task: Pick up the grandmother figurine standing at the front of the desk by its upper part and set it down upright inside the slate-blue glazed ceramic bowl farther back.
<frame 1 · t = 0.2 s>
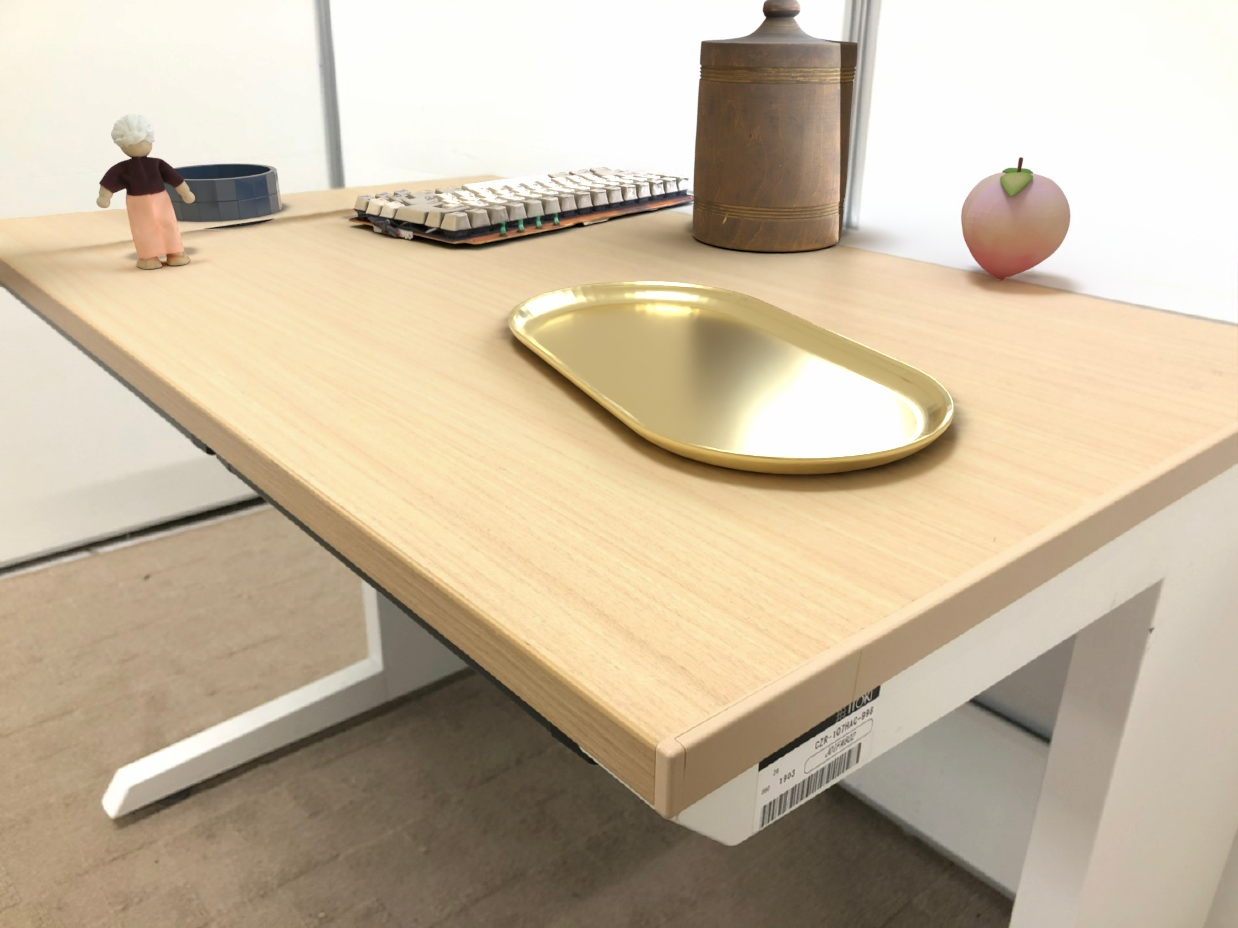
mechanical keyboard: (534, 215, 111), on the table
grandmother figurine: (158, 267, 88), on the table
decorative fruit: (1004, 282, 84), on the table
wooden container: (765, 239, 100), on the table
serving platter: (702, 374, 62), on the table
bowl: (223, 218, 108), on the table
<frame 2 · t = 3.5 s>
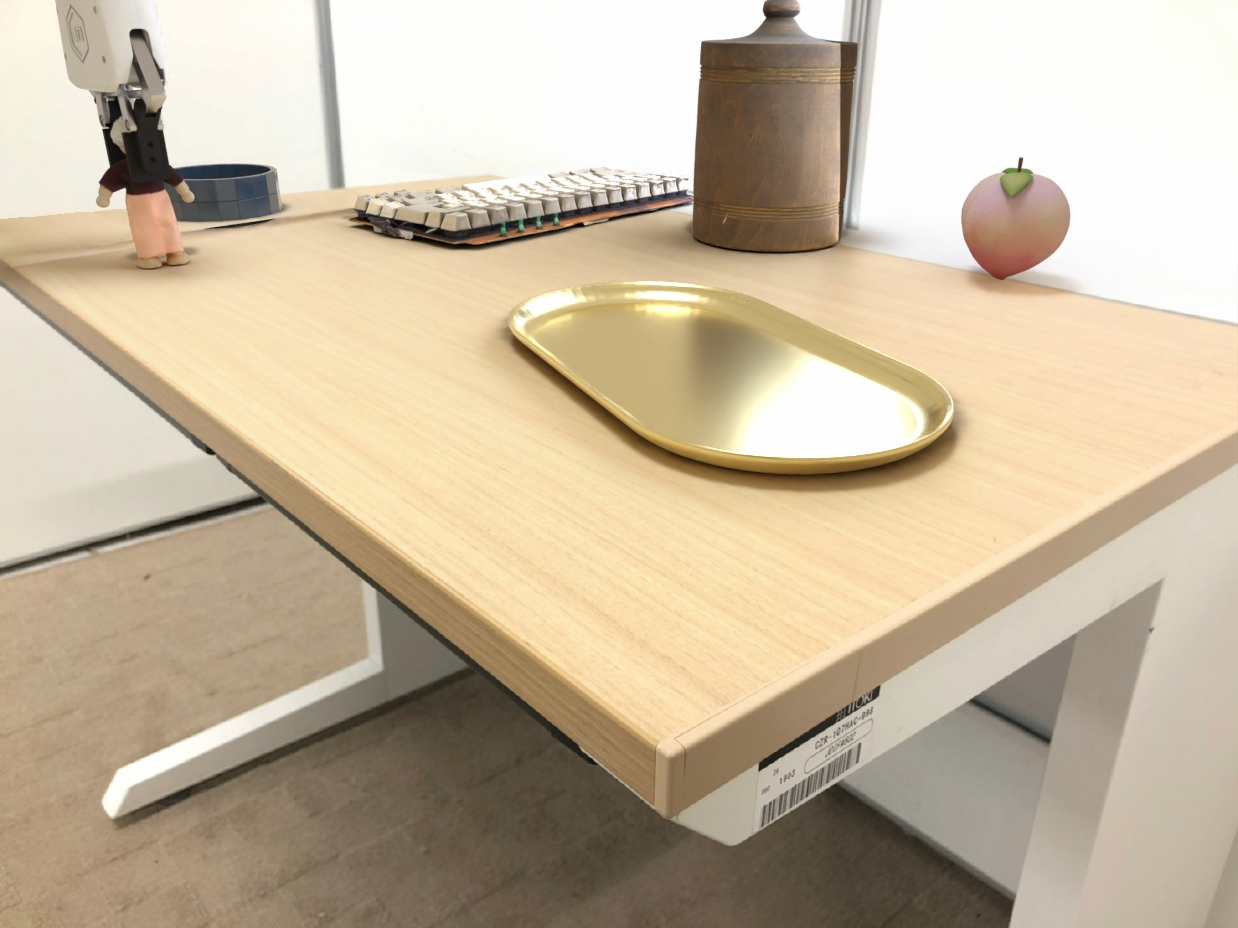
hand: (141, 175, 85), 8 cm above the table, tool pointing down, fingers closed on grandmother figurine, 3 cm apart
grandmother figurine: (158, 266, 88), on the table, touching gripper
everything else where it was.
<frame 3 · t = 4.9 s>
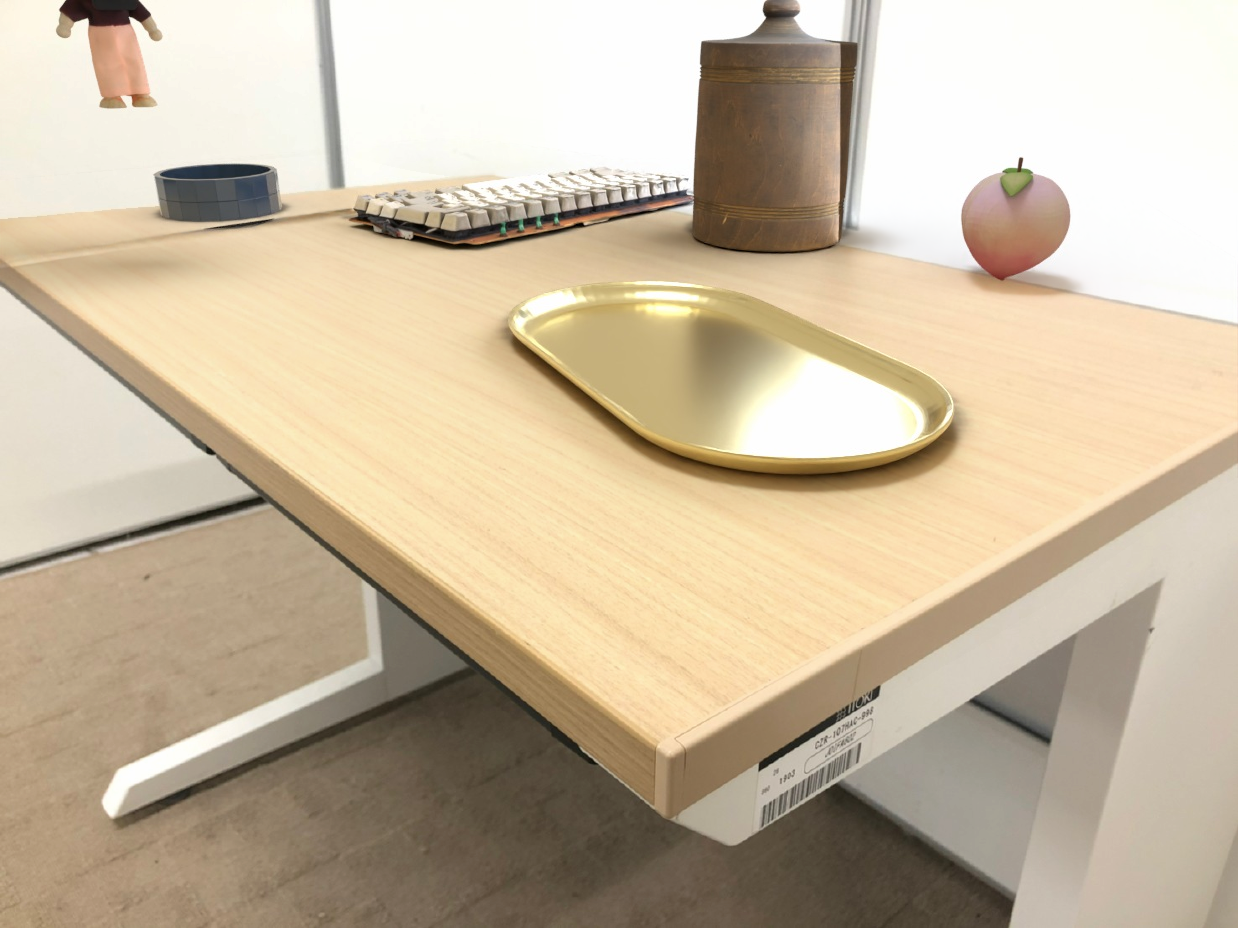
hand: (105, 6, 80), 21 cm above the table, tool pointing down, fingers closed on grandmother figurine, 3 cm apart
grandmother figurine: (123, 109, 83), point 13 cm above the table, touching gripper
everything else where it was.
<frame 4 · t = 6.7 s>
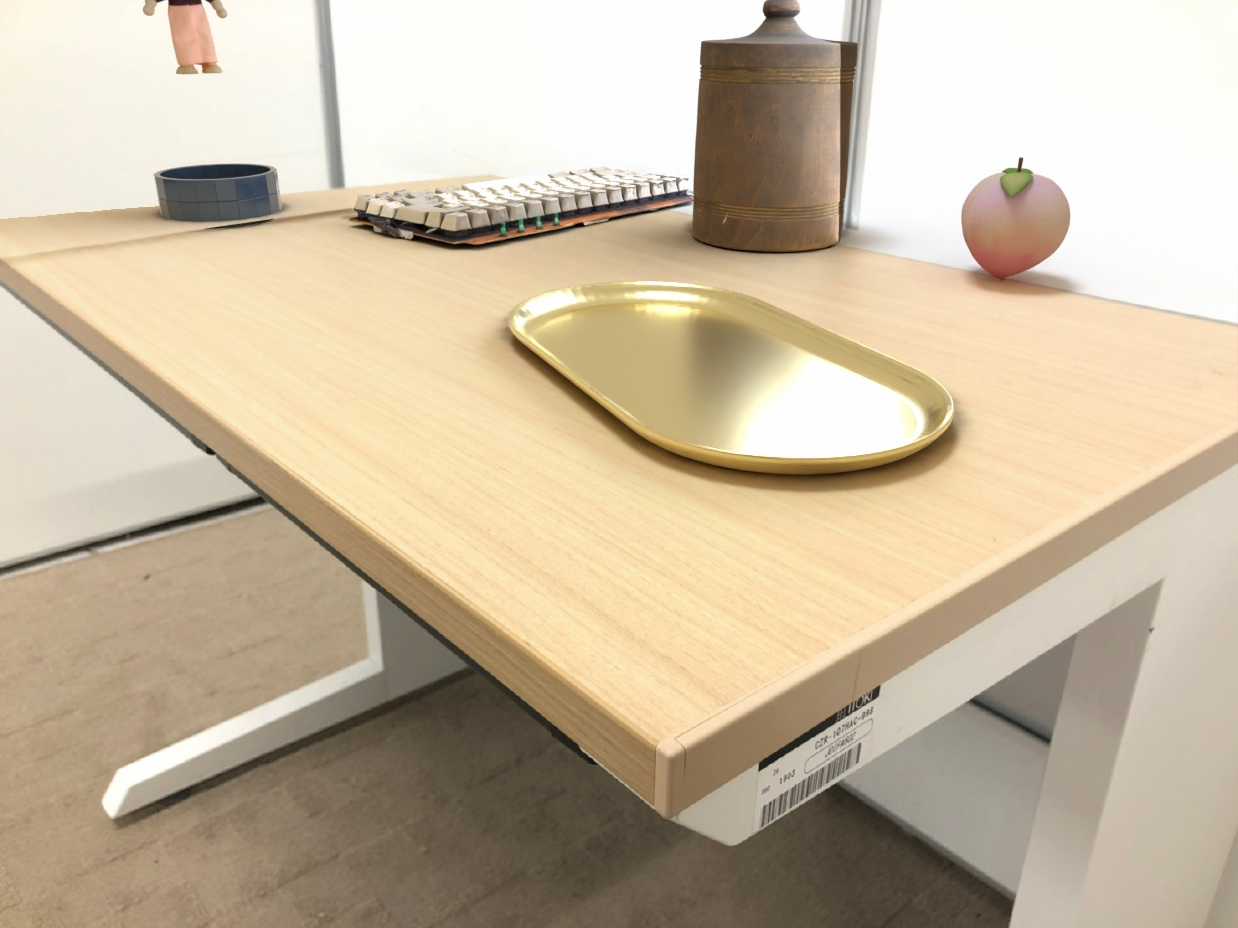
grandmother figurine: (195, 75, 100), point 15 cm above the table, touching gripper
everything else where it was.
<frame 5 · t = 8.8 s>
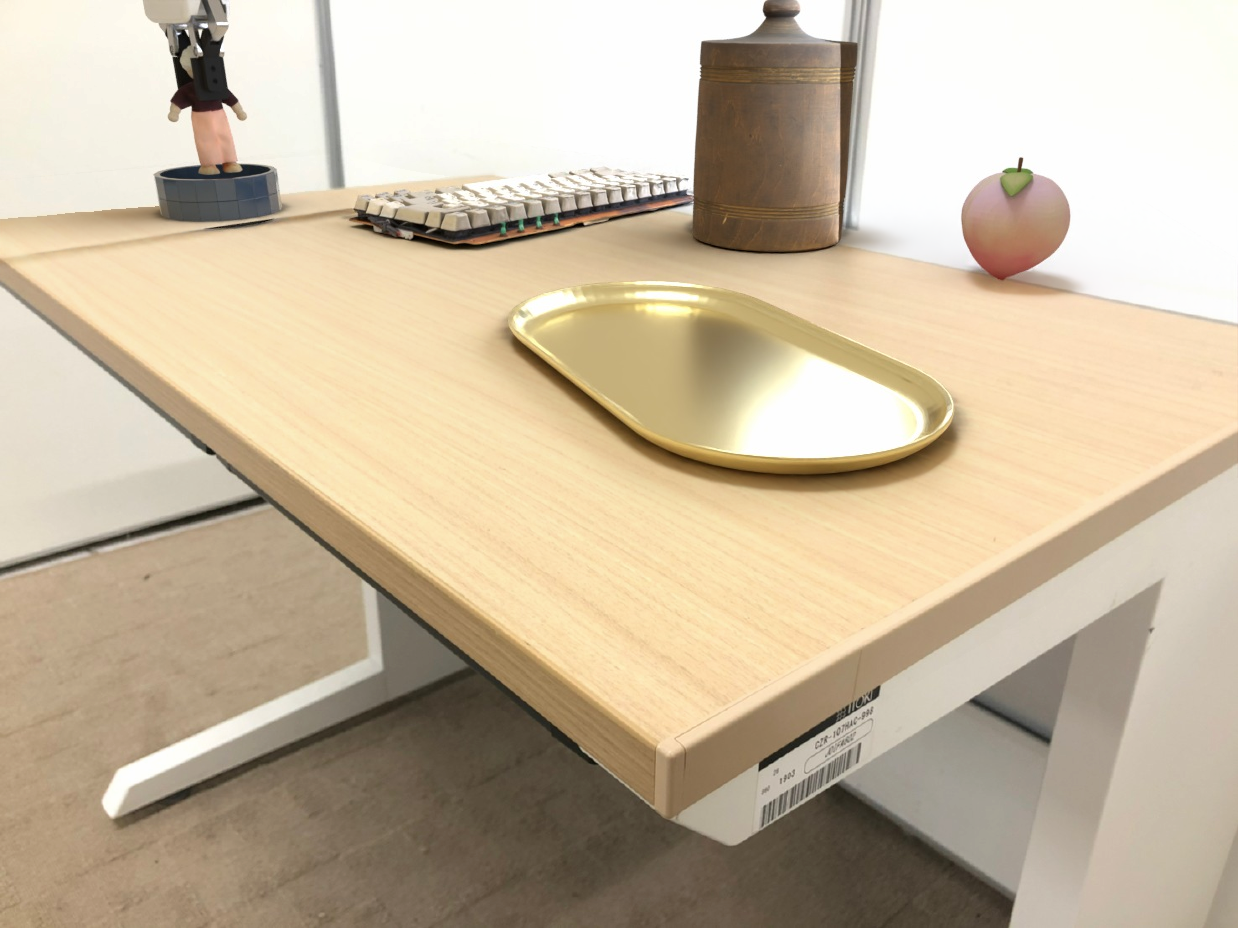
hand: (204, 96, 102), 12 cm above the table, tool pointing down, fingers closed on grandmother figurine, 3 cm apart
grandmother figurine: (216, 174, 106), point 5 cm above the table, touching gripper
everything else where it was.
when the fingers open (8 cm above the table, at t = 10.2 s): grandmother figurine stays where it is, resting on bowl.
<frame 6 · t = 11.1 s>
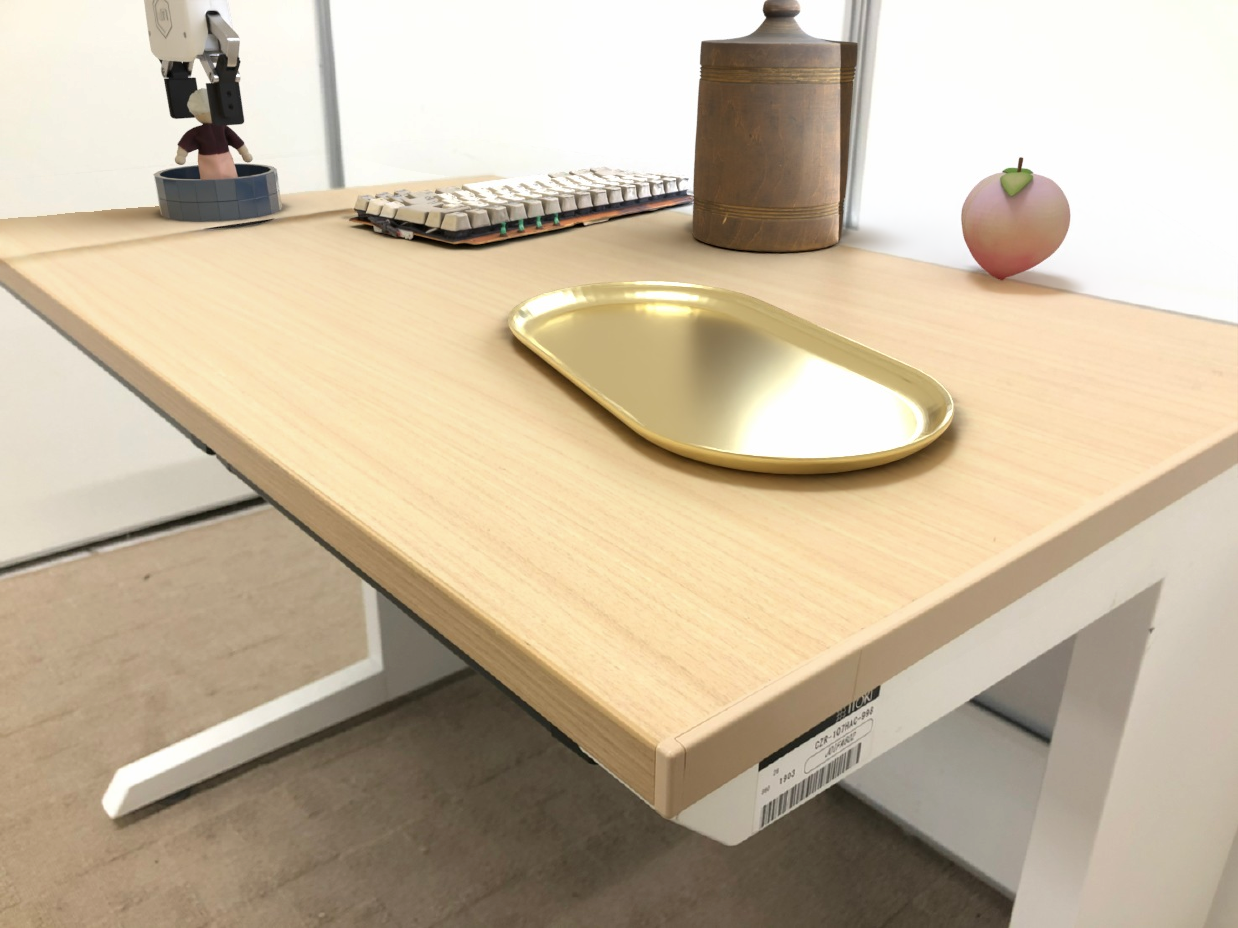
hand: (206, 121, 103), 10 cm above the table, tool pointing down, fingers open, 9 cm apart
grandmother figurine: (222, 214, 107), resting on bowl
everything else where it was.
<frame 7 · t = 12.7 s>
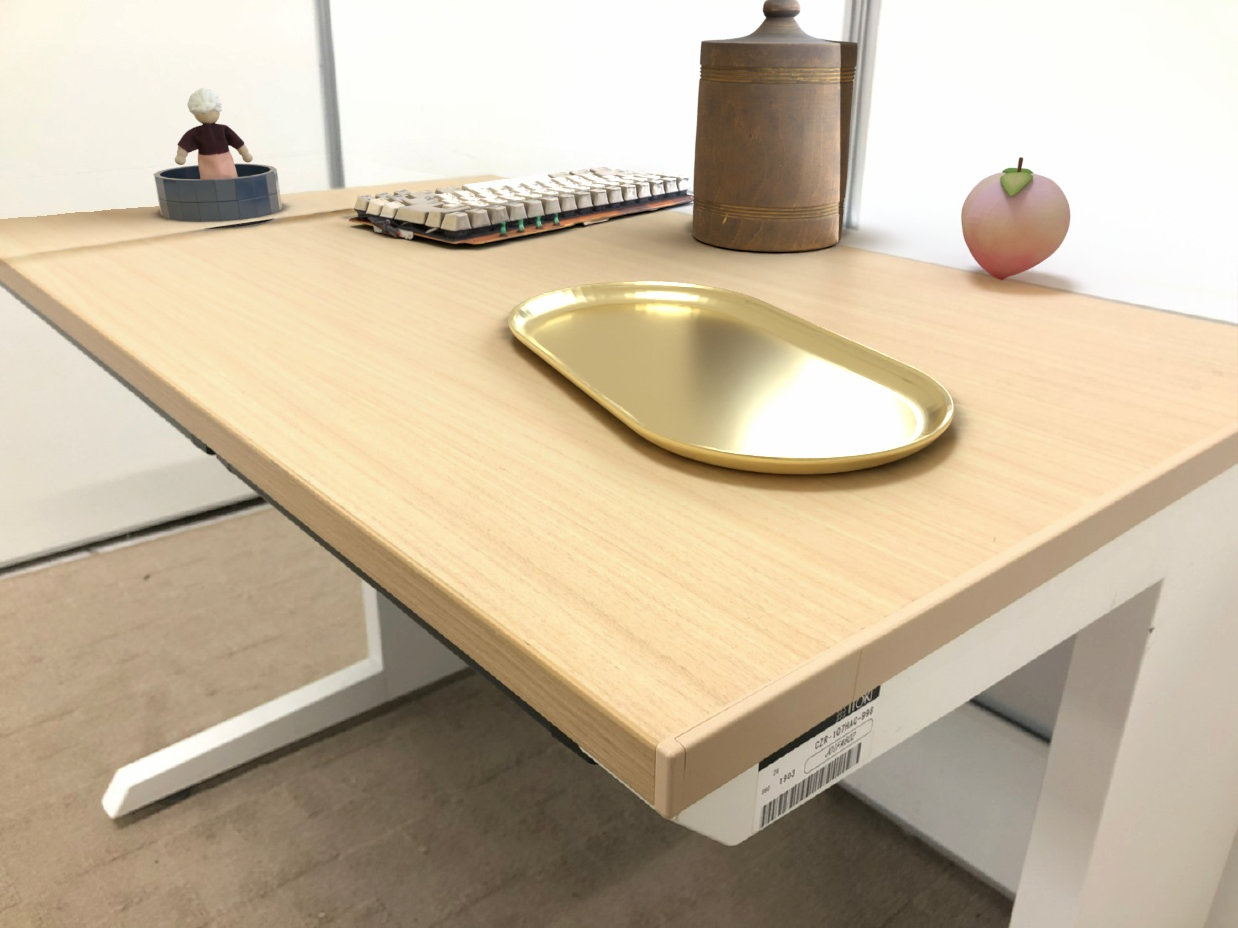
nothing on the table moved.
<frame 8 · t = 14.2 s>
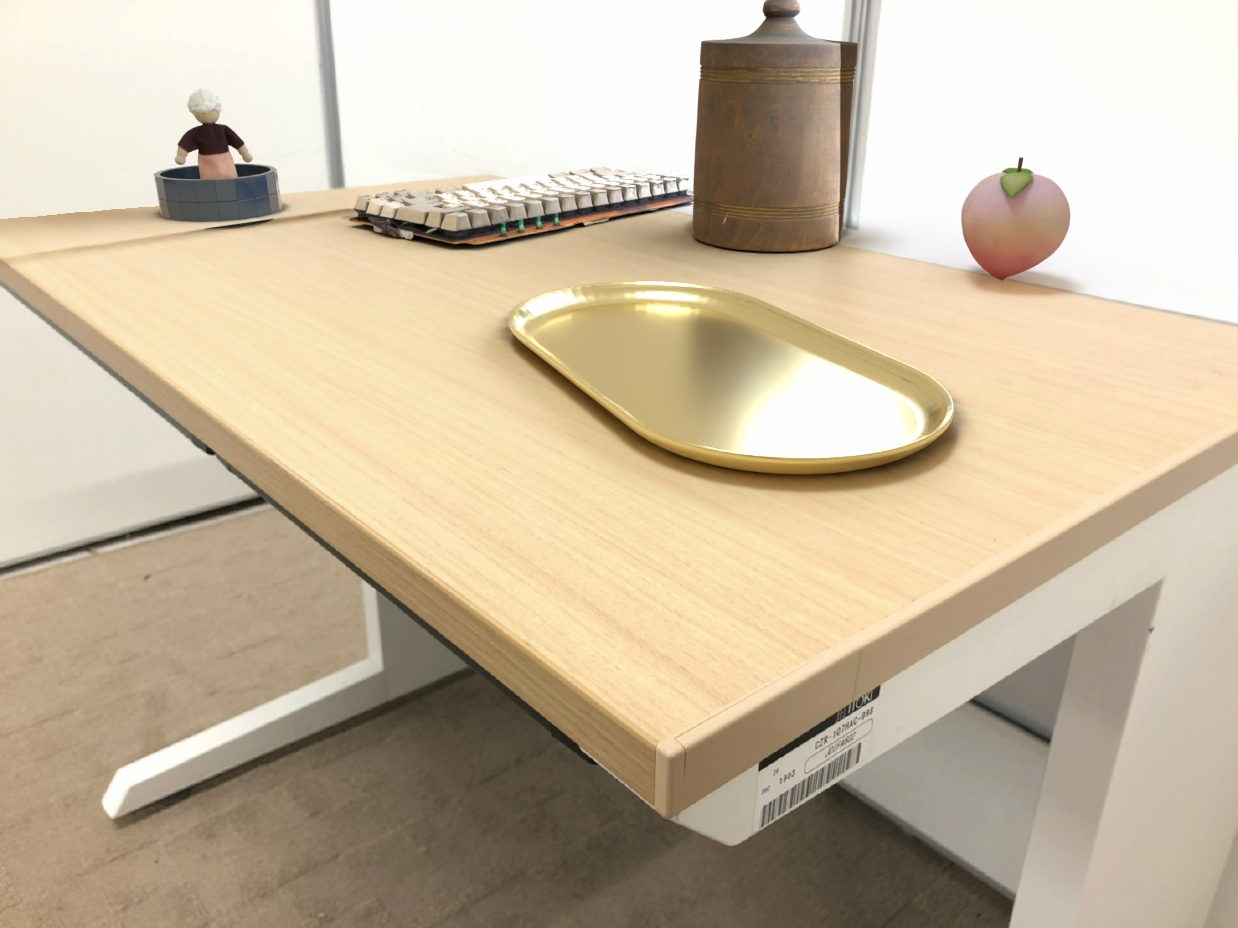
nothing on the table moved.
at the end: grandmother figurine 0.1 cm off-centre in the bowl, point 0.4 cm above the bowl's base; grandmother figurine tilted 0°; the gripper is holding nothing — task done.
